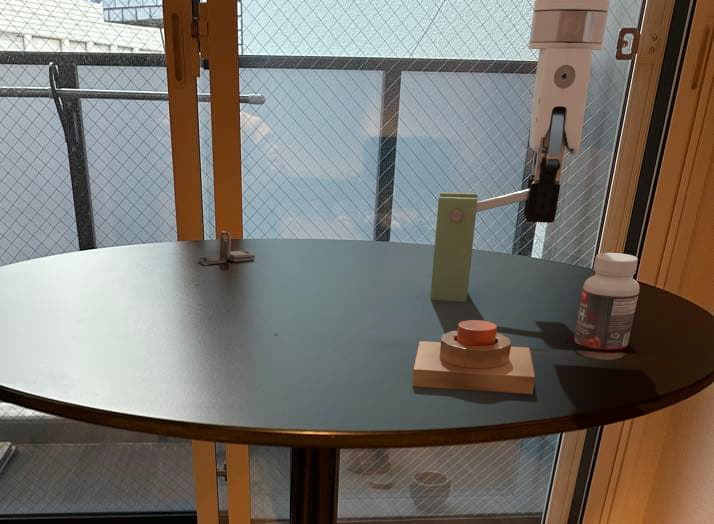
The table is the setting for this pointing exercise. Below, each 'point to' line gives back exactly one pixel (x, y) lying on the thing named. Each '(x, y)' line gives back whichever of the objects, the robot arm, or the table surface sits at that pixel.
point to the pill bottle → (607, 306)
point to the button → (476, 333)
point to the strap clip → (227, 253)
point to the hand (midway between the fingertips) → (538, 217)
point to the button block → (474, 366)
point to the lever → (503, 200)
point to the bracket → (453, 246)
